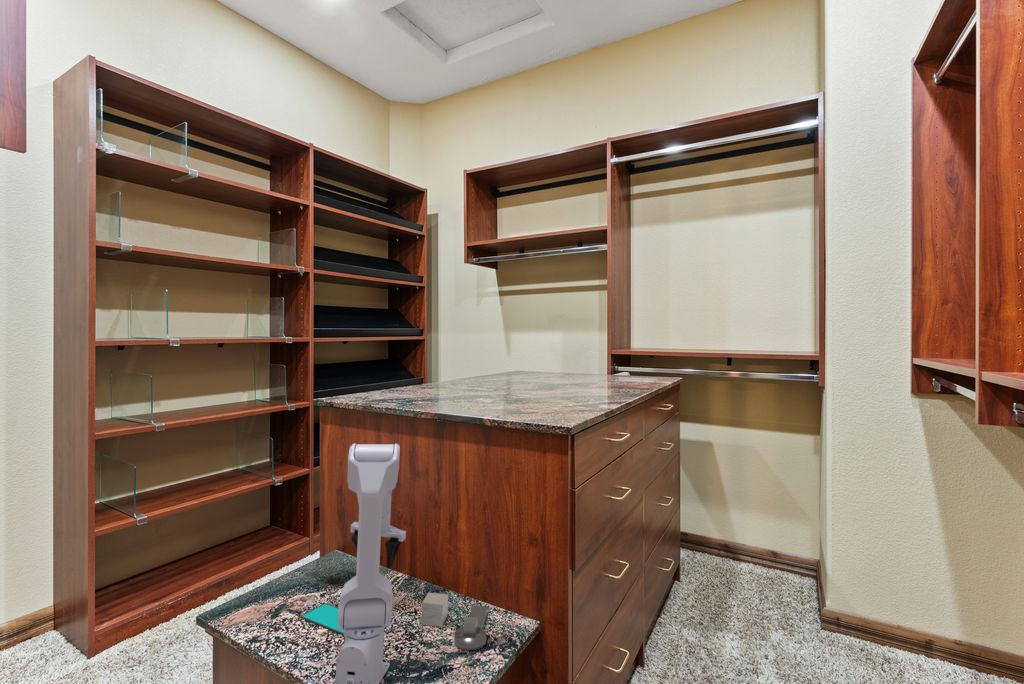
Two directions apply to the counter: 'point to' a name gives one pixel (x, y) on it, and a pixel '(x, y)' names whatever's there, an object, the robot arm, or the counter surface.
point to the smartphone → (324, 617)
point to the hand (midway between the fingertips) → (376, 563)
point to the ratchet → (472, 630)
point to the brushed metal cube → (434, 609)
